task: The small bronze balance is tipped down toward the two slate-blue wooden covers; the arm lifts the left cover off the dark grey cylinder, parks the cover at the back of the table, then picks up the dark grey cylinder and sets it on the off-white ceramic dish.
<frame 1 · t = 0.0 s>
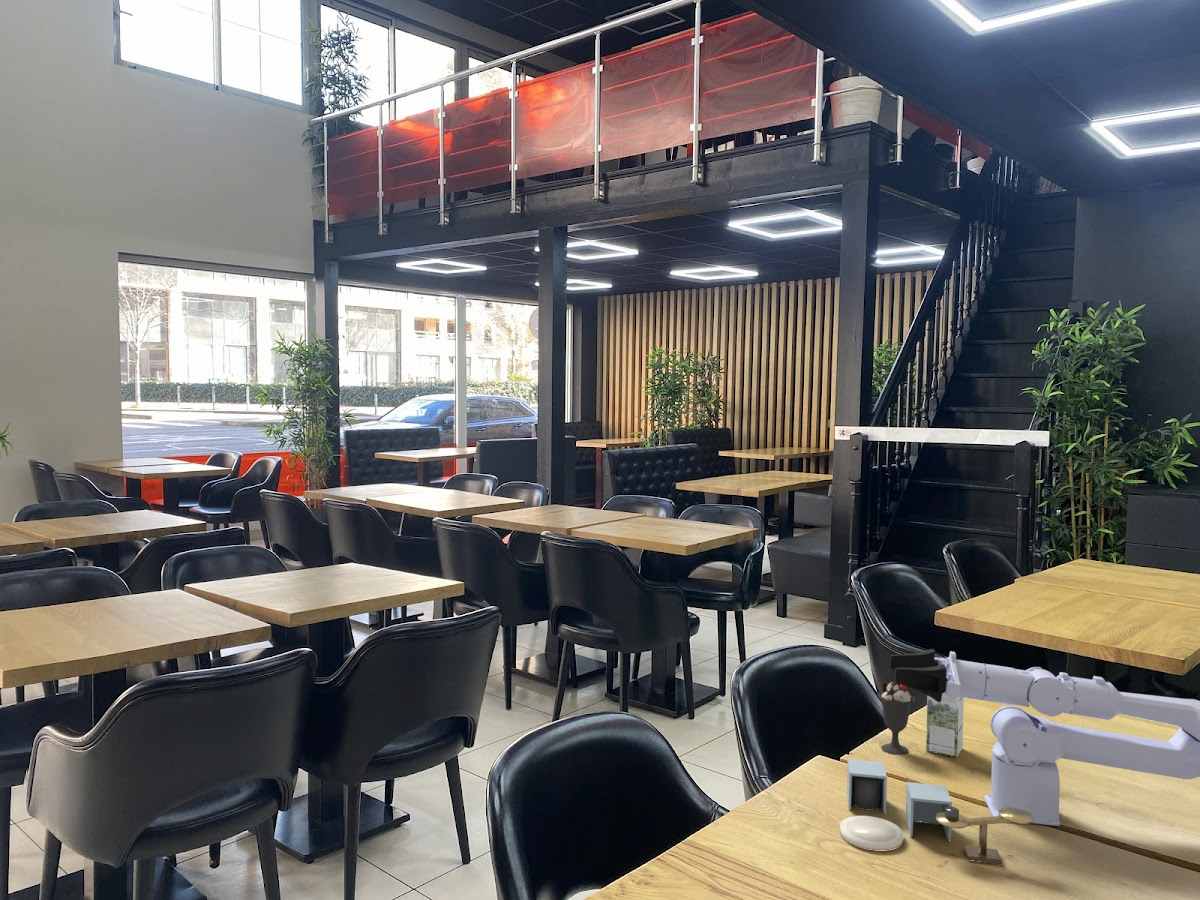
hand: (892, 668, 139), 22 cm above the table, tool horizontal, fingers open, 7 cm apart
dish: (871, 836, 127), on the table
sundae: (895, 750, 161), on the table
cover 2: (927, 830, 129), on the table
syrup box: (944, 751, 161), on the table
dark grey cylinder: (865, 804, 138), on the table
cover 1: (865, 803, 138), on the table
balance: (982, 857, 122), on the table
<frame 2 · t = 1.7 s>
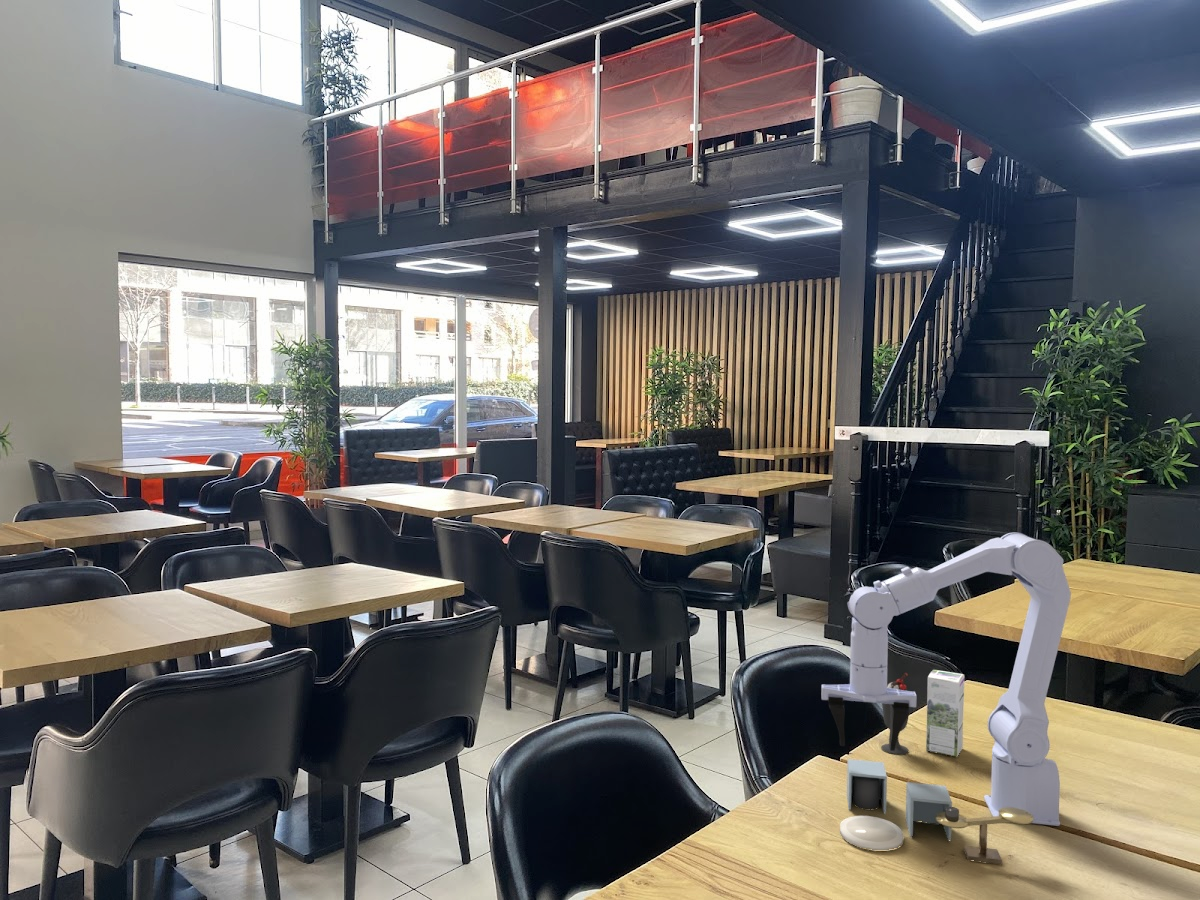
hand: (866, 746, 138), 10 cm above the table, tool pointing down, fingers open, 7 cm apart
nothing on the table moved.
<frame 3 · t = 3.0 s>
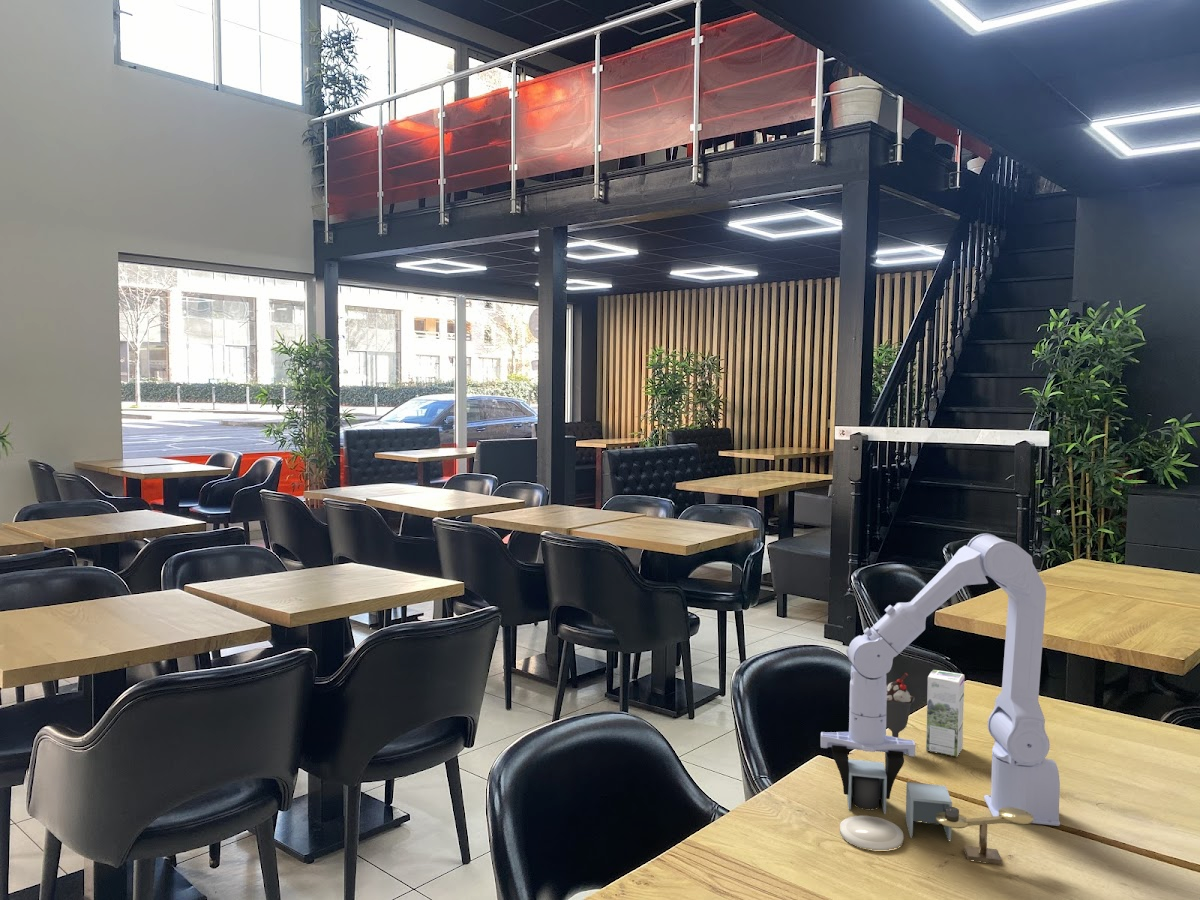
hand: (866, 794, 138), 2 cm above the table, tool pointing down, fingers closed on cover 1, 6 cm apart
cover 1: (865, 803, 138), on the table, touching gripper
everything else where it was.
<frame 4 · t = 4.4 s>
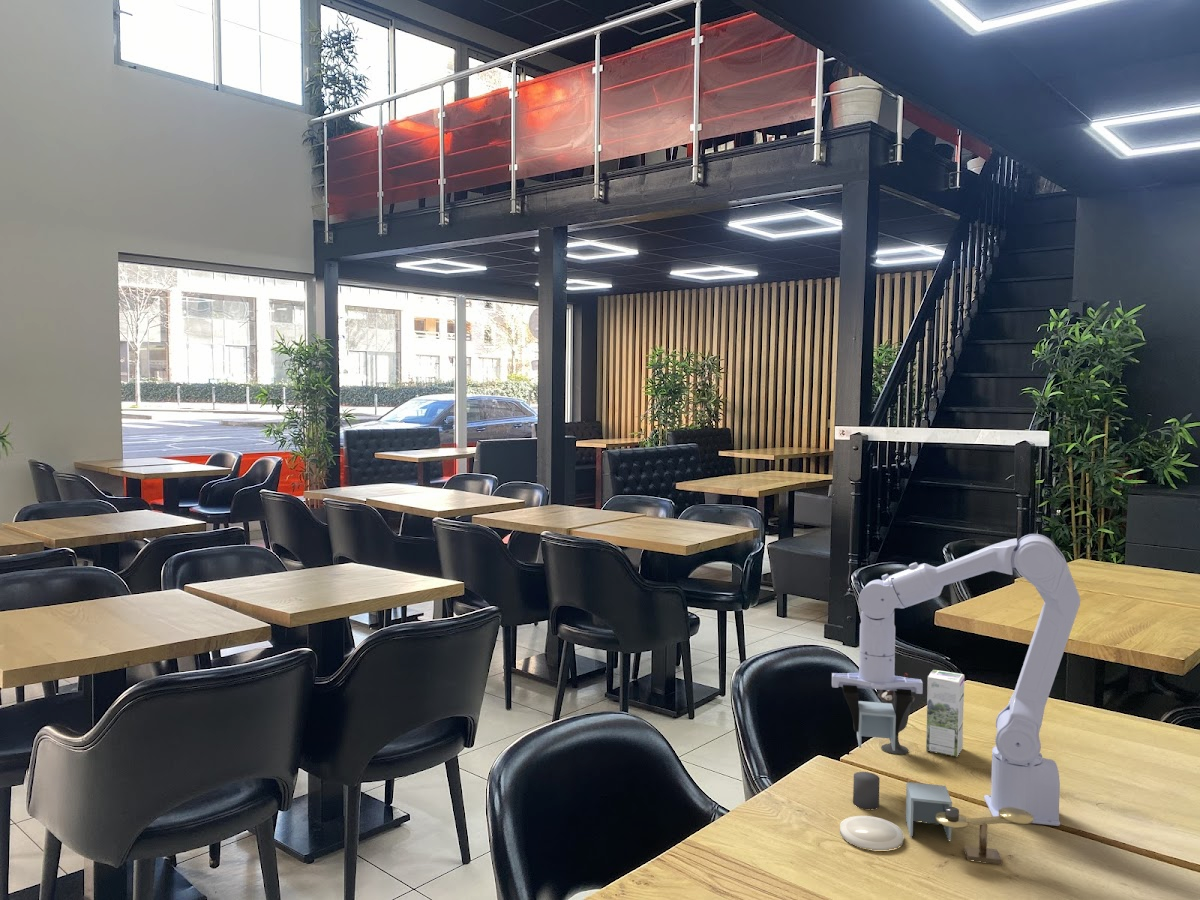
hand: (875, 731, 145), 9 cm above the table, tool pointing down, fingers closed on cover 1, 6 cm apart
cover 1: (875, 742, 145), point 8 cm above the table, touching gripper
everything else where it was.
when the fingers open (3 cm above the table, at t = 6.1 s): cover 1 stays where it is, on the table.
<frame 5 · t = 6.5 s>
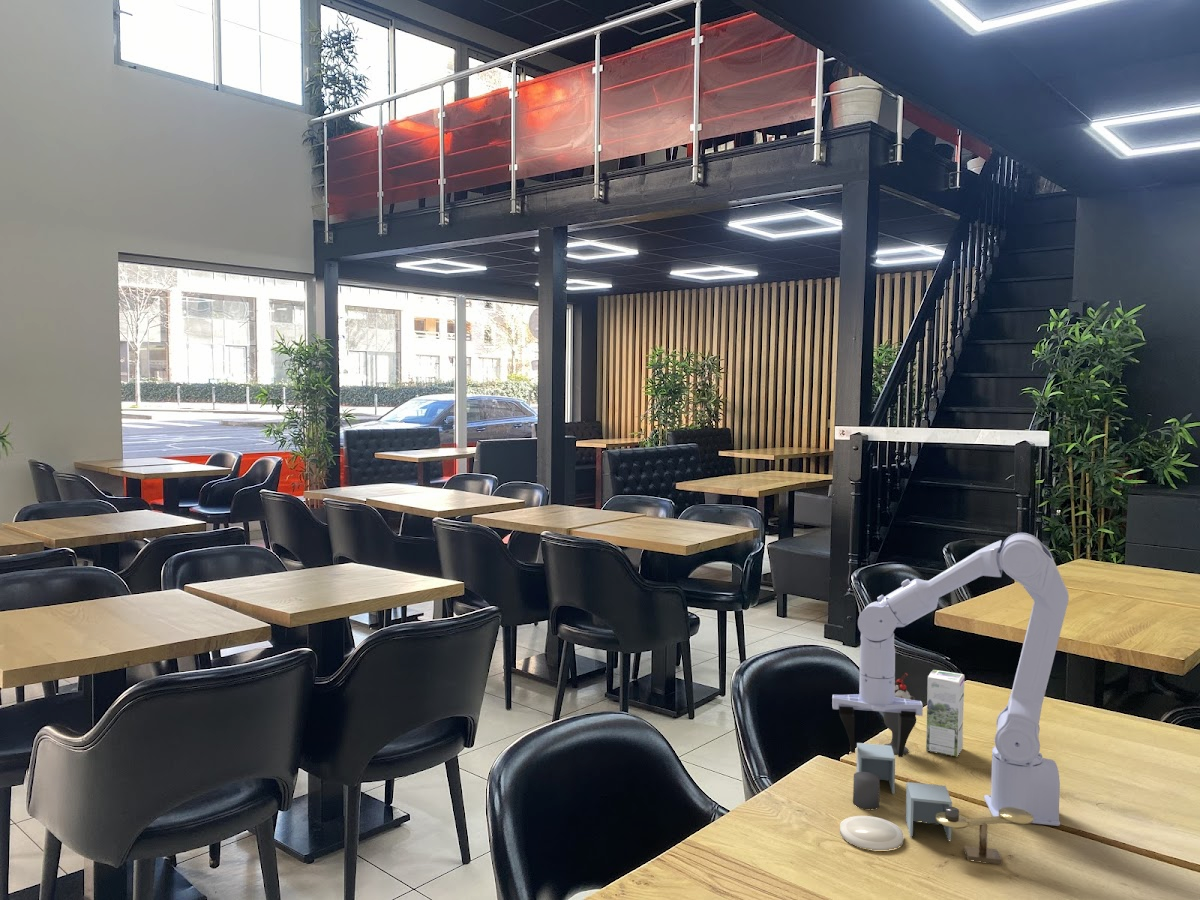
hand: (876, 752, 145), 6 cm above the table, tool pointing down, fingers open, 7 cm apart
cover 1: (874, 785, 145), on the table
everything else where it was.
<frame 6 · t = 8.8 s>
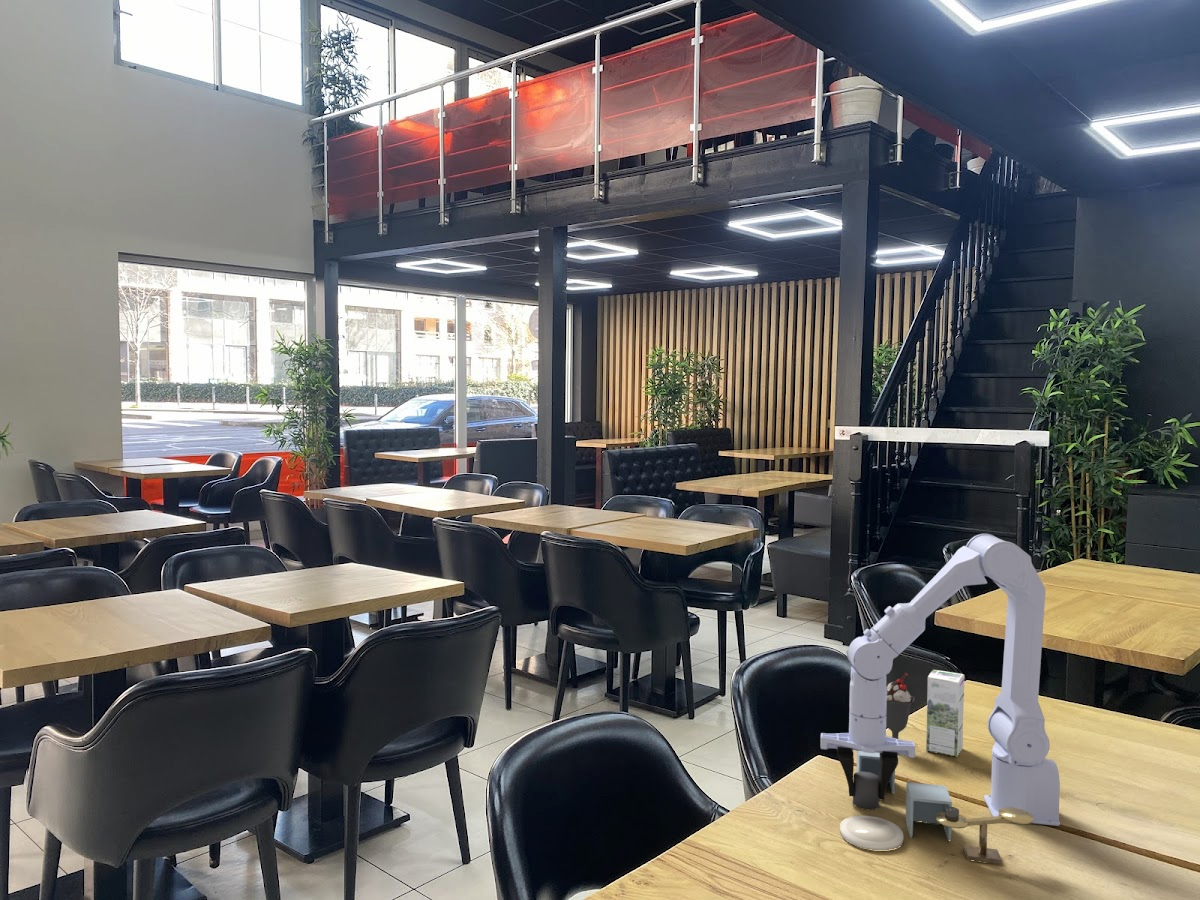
hand: (866, 795, 138), 1 cm above the table, tool pointing down, fingers closed on dark grey cylinder, 4 cm apart
dark grey cylinder: (865, 804, 138), on the table, touching gripper
everything else where it was.
when the fingers open (4 cm above the table, at t = 11.7 s): dark grey cylinder stays where it is, resting on dish.
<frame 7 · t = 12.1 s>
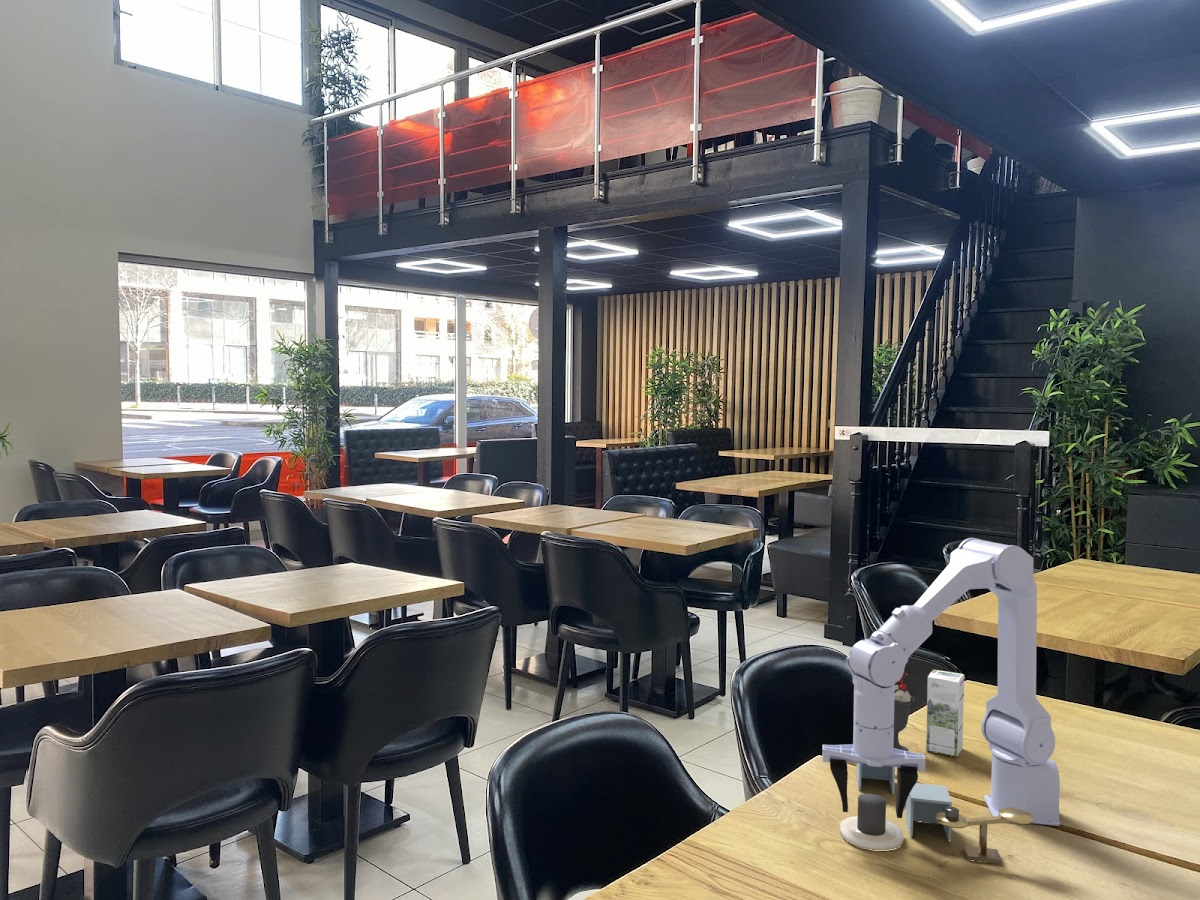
hand: (871, 812, 127), 4 cm above the table, tool pointing down, fingers open, 7 cm apart
dark grey cylinder: (871, 829, 128), point 1 cm above the table, touching dish
everything else where it was.
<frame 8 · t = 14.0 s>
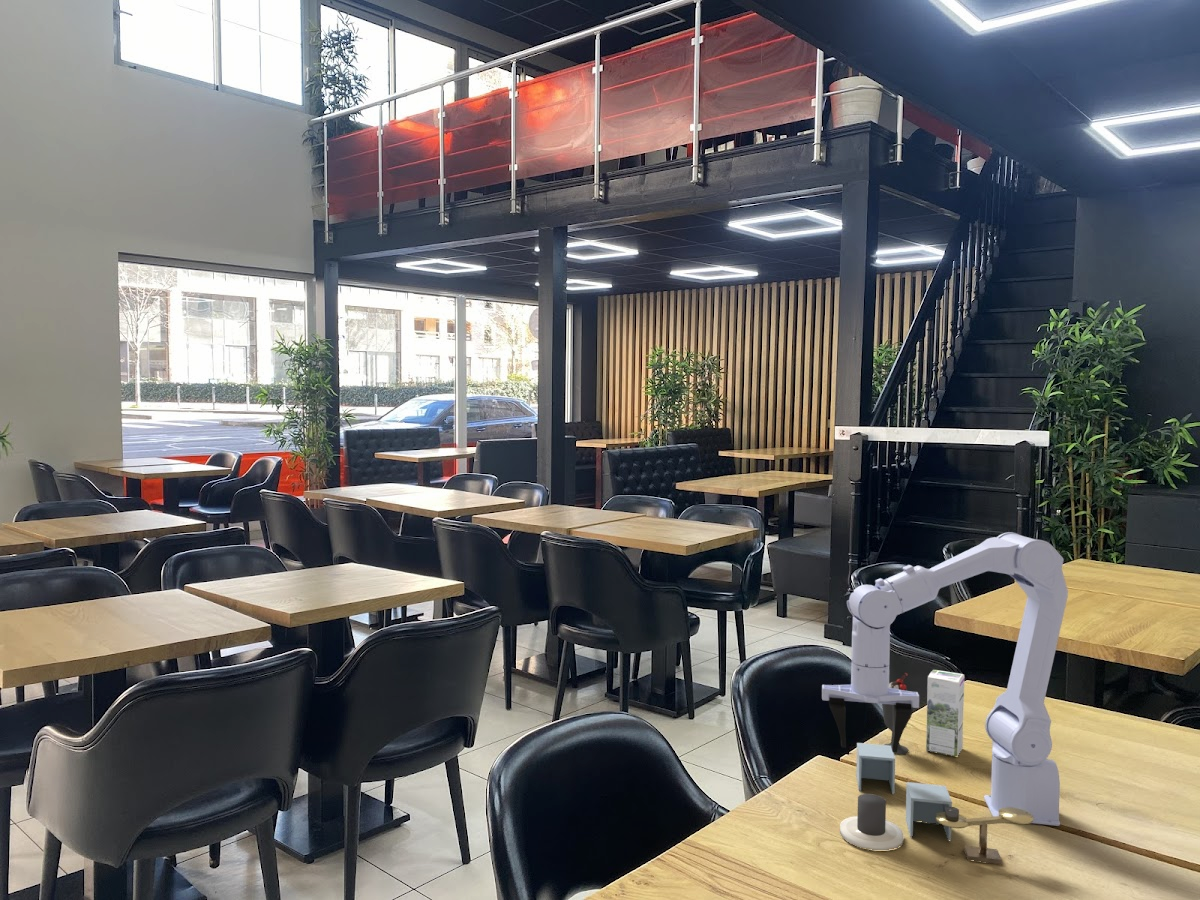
hand: (868, 747, 135), 10 cm above the table, tool pointing down, fingers open, 7 cm apart
nothing on the table moved.
at the end: dark grey cylinder inside the target area on the dish (0.1 cm from its centre), point 1.1 cm above the dish's base; dark grey cylinder tilted 0°; cover 1 moved 8.0 cm from its start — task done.
